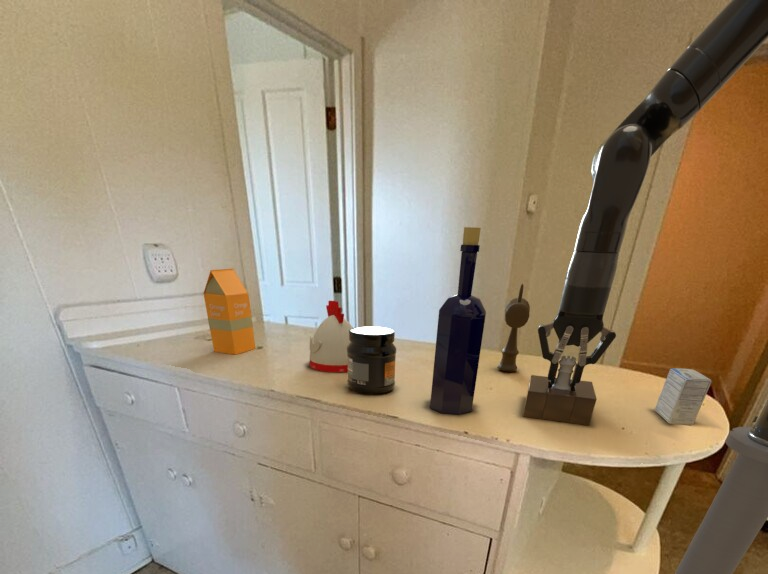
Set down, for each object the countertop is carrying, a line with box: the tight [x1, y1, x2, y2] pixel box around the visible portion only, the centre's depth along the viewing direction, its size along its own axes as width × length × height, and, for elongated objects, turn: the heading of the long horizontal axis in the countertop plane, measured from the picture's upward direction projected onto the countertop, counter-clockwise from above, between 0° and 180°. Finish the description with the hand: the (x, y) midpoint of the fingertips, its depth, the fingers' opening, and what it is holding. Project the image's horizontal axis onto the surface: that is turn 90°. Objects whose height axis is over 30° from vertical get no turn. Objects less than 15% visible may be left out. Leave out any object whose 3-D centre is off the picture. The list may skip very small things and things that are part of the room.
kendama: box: [497, 283, 531, 373], centre depth 105 cm, size 6×10×20 cm, turn 165°
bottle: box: [428, 226, 487, 416], centre depth 77 cm, size 9×9×30 cm
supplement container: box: [347, 326, 397, 395], centre depth 91 cm, size 10×10×12 cm
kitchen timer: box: [309, 300, 354, 373], centre depth 106 cm, size 14×14×15 cm
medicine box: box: [654, 367, 712, 427], centre depth 81 cm, size 8×4×9 cm, turn 170°
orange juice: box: [202, 268, 256, 356], centre depth 115 cm, size 8×9×20 cm
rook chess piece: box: [551, 355, 578, 391], centre depth 82 cm, size 4×4×8 cm
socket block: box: [522, 374, 598, 426], centre depth 84 cm, size 12×12×5 cm
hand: (562, 383), depth 82 cm, fingers closed on rook chess piece, 3 cm apart
